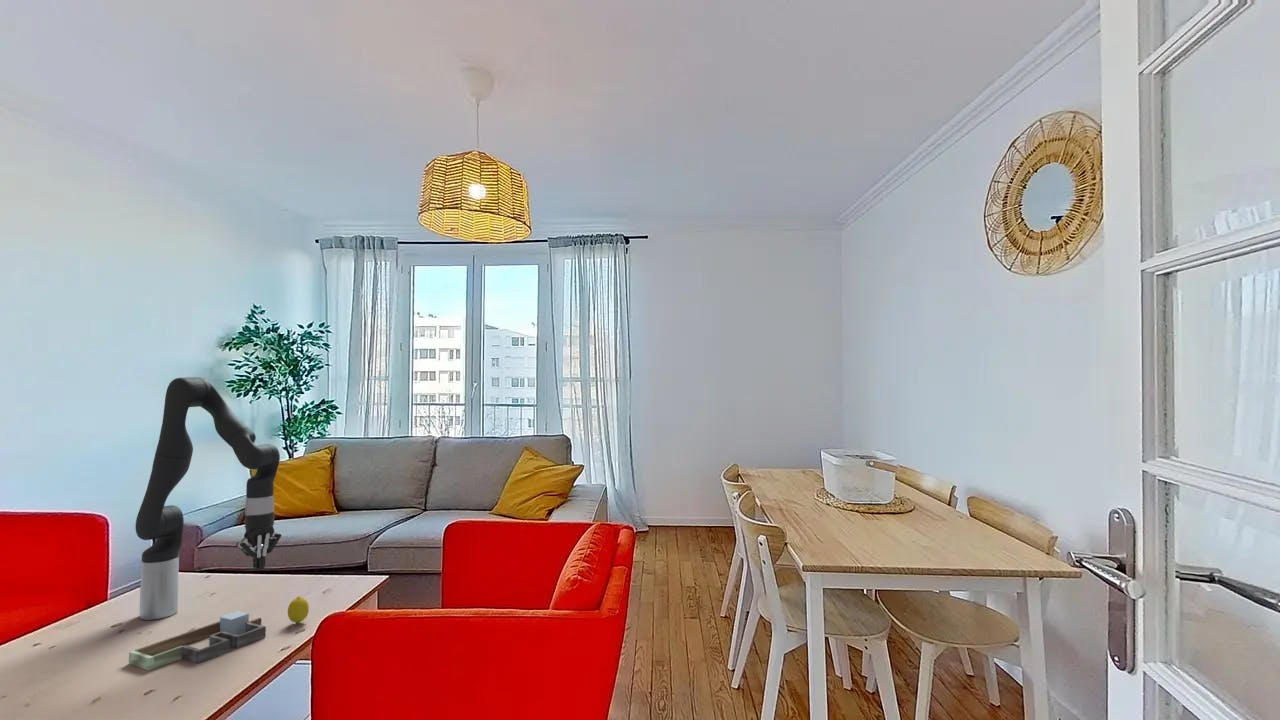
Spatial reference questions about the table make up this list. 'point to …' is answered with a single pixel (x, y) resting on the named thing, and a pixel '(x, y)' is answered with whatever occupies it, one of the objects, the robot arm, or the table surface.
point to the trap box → (176, 650)
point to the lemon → (298, 610)
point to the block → (234, 622)
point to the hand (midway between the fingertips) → (258, 569)
